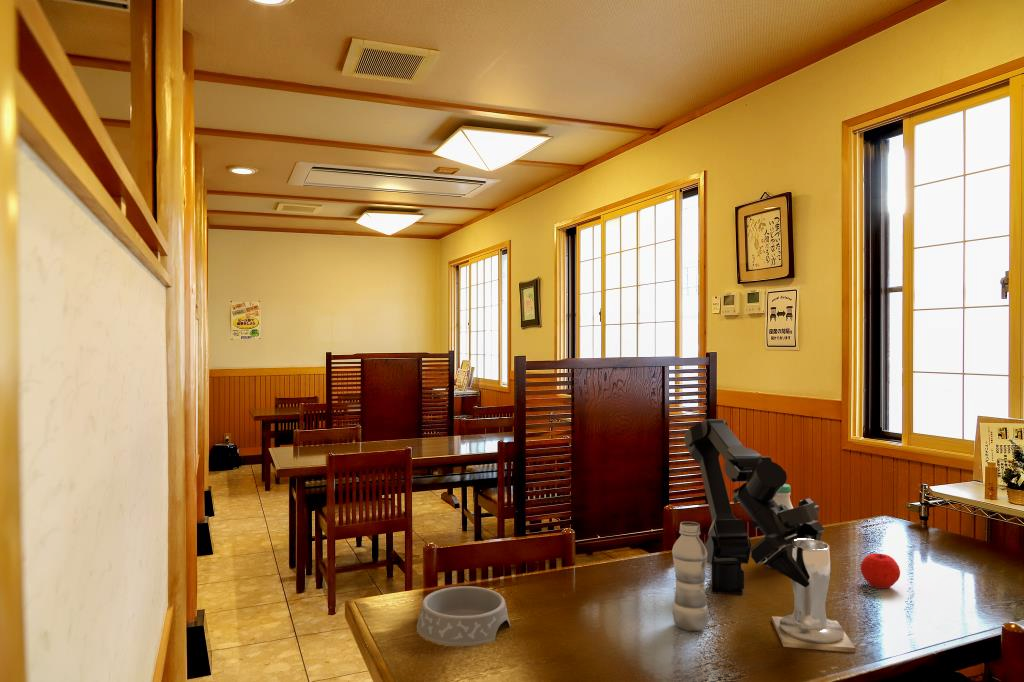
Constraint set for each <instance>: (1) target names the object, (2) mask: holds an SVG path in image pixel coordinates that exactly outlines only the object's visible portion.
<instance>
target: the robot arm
mask: <svg viewBox="0 0 1024 682" xmlns="http://www.w3.org/2000/svg"><path fill="white" fill-rule="evenodd" d="M683 438H684V444H685V446H686V447H687V450H688V454H689V456H690V457H691V458H692V459H693V460H694V461H695V462H696V463H697V464H698V465H699V469H700V473H701V474H700V475H701V478H702V483H703V487H704V491H705V495H706V499H707V503H708V508H709V512H710V517H711V525H710V527H709V530H708V533H707V537H708V538H707V539H706V542H705V543H704V545H705V547H706V550H707V563H709V565H710V580H709V586H710V590H711V593H715V594H726V595H727V594H728V595H730V594H731V595H744V593H743V590H744V589H745V570H744V568H743V566H742V565H743V564H744V565H745V564H746V565H749V562H750V557H751V559H752V560H753V562H754V563H755V564H756V565H760V564H762V563H763V564H762V565H763V566H764V567H767V566H768V568H769V569H772V570H774V571H776V572H778V573H780V574H781V575H784V576H785V577H787V578H788V579H791V581H792V580H794V581H795V582H797V583H799V584H800V585H802V586H804V587H807V586H808V585H809V584H810V583H809V581H808V580H807V578H806V576H805V575H804V573H803V572H802V570H801V569H800V567H799V566H798V564H797V562H796V561H795V559H794V558H793V556H792V541H793V540H795V539H813V540H818V541H822V540H821V539H822V537H823V532H824V531H825V528H824V526H823V525H822V524H821V523H820V521H818V520H820V516H819V510H820V506H819V505H817V504H816V502H815V501H813V500H812V499H811V498H810V497H808V498H805V499H801V500H799V501H798V506H796V507H793V509H788V508H787V507H786V506H785V505H783V504H782V505H779V506H778V504H777V503H776V502H775V501H774V499H773V498H774V497H775V496H776V494H777V493H778V492H779V491H780V489H781V488H782V487H783V485H784V484H786V483H787V480H788V476H787V475H788V474H787V472H786V470H785V469H784V468H783V466H781V465H780V464H778V463H777V462H774V461H772V458H771V456H762V455H761V454H760V453H759V452H757V451H756V450H754V449H752V448H749V447H745V446H744V445H743V444H742V442H741V441H740V440H739V439H738V437H737V436H736V435H735V434H734V433H733V431H732V430H731V429H730V428H729V426H728V422H727V420H724V419H723V418H714V419H713V418H711V419H709V418H708V419H707V418H706V419H705V420H702V421H701V422H700V423H698V424H695V425H692V426H690V427H689V428H688V429H687V430H686V431H685V433H684V437H683ZM720 456H721V457H722V458H723V460H724V464H723V465H724V467H723V469H724V473H725V476H726V477H727V478H728V479H729V481H730V482H731V483H743V484H742V485H741V486H739V487H737V488H735V489H733V490H732V493H733V497H732V501H733V503H734V505H736V504H738V503H739V504H740V505H741V507H742V508H743V509H744V510H745V512H746V513H747V514H748V515H749V517H750V518H751V520H752V523H751V524H750V525H751V527H752V528H753V529H754V530H756V529H759V530H760V532H761V533H762V534H763V538H762V539H761V540H759V541H758V542H757V543H756V544H755V545H753V547H752V543H751V540H750V538H749V535H748V533H747V529H746V524H745V521H744V520H743V519H742V518H738V519H737V518H736V516H735V515H734V513H733V510H732V504H731V501H730V497H729V494H728V489H727V484H726V482H725V478H724V475H723V474H724V473H723V470H722V466H721V462H720ZM764 535H765V537H764ZM766 558H767V561H766ZM764 561H766V562H765V563H764ZM831 575H832V572H831V571H830V576H831Z"/></svg>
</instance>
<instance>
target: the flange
mask: <svg viewBox="0 0 1024 682" xmlns="http://www.w3.org/2000/svg"><path fill="white" fill-rule="evenodd" d="M792 616H793V614H788V615H784V616H781V617H782V618H781V619H780V629H781V631H782V632H783V633H785V634H786V635H788V636H790V637H792V638H794V639H797V640H800V641H804V642H809V643H815V644H833V643H837V642H840V641H842V640H843V638H844V632H845V630H844V628H843V626H841V625H840V623H839V624H837V623H836V622H834V621H835V620H831V619H829V618H827V627H826V628H824V629H820V630H812V629H806V628H803V627H800V626H798V625H796V624H795V623H794V622H793V620H792Z"/></svg>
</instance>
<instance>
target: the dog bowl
mask: <svg viewBox="0 0 1024 682" xmlns="http://www.w3.org/2000/svg"><path fill="white" fill-rule="evenodd" d="M505 621H507V622H508V625H509V627H511V622H510V618H509V615H508V609H507V603H506V600H505V598H504V597H503V596H502V594H501V593H498V592H497V591H495V590H492V589H488V588H485V587H479V586H473V585H470V586H466V585H464V586H460V585H459V586H451V587H450V586H449V587H446V588H441V589H438V590H435V591H432V592H431V593H429V594H427V595H425V597H424V598H423V599H422V602H421V607H420V610H419V615H418V619H417V623H416V627H417V631H418V633H419V634H420V635H421V636H423V637H424V638H426V639H428V640H430V641H432V642H435V643H440V644H443V645H448V646H461V647H460V648H464V647H463V646H471V647H475V646H474V645H478V646H481V645H480V644H483V645H485V644H484V643H487V644H490V643H493V642H495V640H496V637H497V636H496V635H497V632H498V629H499V627H500V626H501V625H502V624H503V623H505ZM417 631H416V632H417ZM418 633H417V634H418ZM492 641H493V642H492ZM489 642H490V643H489Z"/></svg>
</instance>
